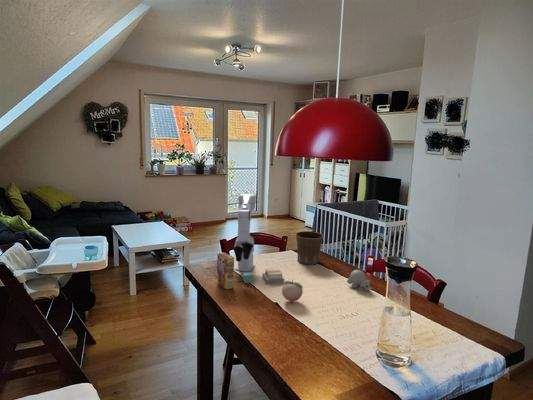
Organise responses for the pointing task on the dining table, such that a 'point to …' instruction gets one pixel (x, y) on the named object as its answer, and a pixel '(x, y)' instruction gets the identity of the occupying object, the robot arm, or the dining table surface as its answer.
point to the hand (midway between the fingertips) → (242, 260)
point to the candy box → (225, 270)
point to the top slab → (273, 273)
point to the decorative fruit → (292, 290)
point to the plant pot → (308, 246)
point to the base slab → (269, 281)
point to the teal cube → (247, 277)
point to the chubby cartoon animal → (359, 280)
